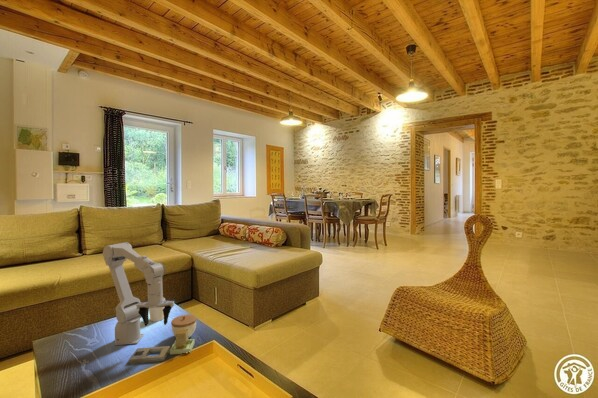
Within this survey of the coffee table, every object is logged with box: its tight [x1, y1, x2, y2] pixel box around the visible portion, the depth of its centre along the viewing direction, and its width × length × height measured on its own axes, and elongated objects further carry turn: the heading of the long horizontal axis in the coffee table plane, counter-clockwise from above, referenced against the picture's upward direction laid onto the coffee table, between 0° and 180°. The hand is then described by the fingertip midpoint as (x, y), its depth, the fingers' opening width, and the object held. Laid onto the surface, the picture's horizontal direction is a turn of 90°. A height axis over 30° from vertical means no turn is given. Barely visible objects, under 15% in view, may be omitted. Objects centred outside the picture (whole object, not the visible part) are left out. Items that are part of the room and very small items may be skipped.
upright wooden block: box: [175, 329, 189, 349], centre depth 123 cm, size 4×4×7 cm
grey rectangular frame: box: [128, 345, 171, 364], centre depth 118 cm, size 13×8×2 cm, turn 97°
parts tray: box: [169, 338, 195, 356], centre depth 123 cm, size 8×8×2 cm
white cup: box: [148, 297, 166, 323], centre depth 152 cm, size 8×8×10 cm
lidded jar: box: [170, 314, 197, 339], centre depth 134 cm, size 11×11×9 cm
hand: (156, 324), depth 124 cm, fingers open, 7 cm apart
